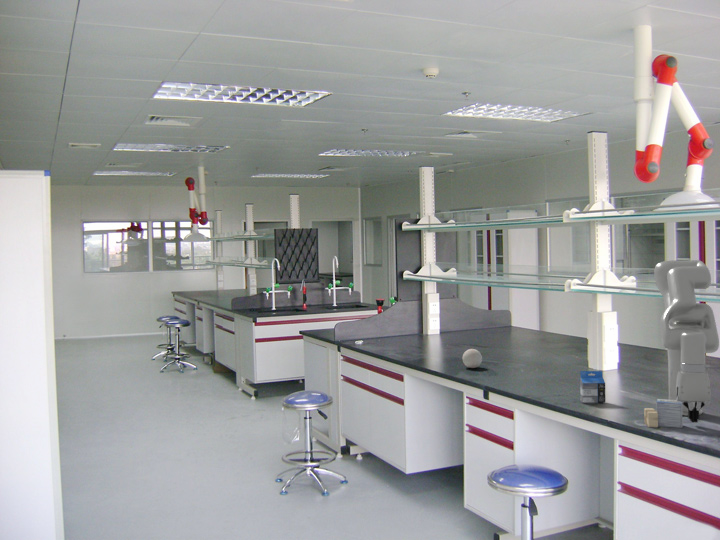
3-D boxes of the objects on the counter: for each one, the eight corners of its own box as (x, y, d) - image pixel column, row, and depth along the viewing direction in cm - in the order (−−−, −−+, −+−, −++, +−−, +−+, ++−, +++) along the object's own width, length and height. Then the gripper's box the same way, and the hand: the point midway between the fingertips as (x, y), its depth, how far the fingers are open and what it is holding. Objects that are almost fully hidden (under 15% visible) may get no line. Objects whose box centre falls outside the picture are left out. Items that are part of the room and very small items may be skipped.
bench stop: (644, 422, 226) (644, 408, 225) (653, 422, 225) (653, 408, 225) (648, 427, 220) (648, 412, 220) (657, 427, 219) (657, 412, 219)
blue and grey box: (582, 403, 254) (582, 372, 254) (580, 401, 258) (579, 371, 258) (605, 403, 253) (605, 372, 253) (603, 401, 257) (602, 370, 257)
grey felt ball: (461, 366, 340) (461, 347, 340) (480, 366, 340) (480, 347, 339) (463, 370, 330) (463, 350, 330) (483, 369, 330) (483, 350, 329)
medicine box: (682, 425, 221) (682, 400, 221) (682, 428, 217) (682, 403, 217) (657, 423, 224) (656, 398, 224) (656, 426, 220) (656, 401, 220)
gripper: (713, 366, 221) (713, 419, 222) (666, 365, 224) (667, 417, 225) (720, 370, 214) (721, 425, 214) (672, 369, 217) (672, 423, 218)
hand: (693, 421), depth 220 cm, fingers closed
